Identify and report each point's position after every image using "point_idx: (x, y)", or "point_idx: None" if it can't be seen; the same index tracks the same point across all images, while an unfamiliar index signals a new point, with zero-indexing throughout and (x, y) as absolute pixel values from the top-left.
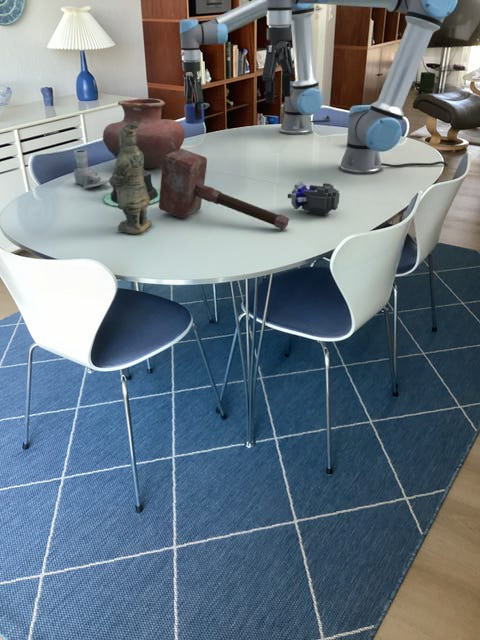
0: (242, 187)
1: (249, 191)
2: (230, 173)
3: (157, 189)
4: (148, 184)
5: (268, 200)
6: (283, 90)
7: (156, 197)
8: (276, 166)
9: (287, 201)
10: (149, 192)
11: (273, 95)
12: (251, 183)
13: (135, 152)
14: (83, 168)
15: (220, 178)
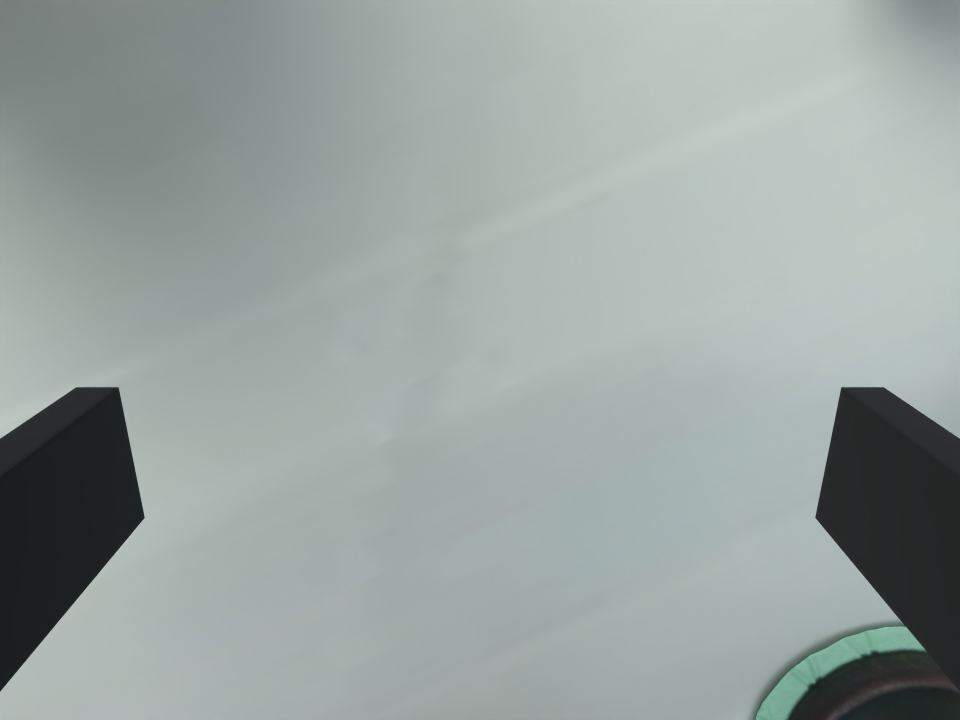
0: (584, 385)
1: (639, 321)
2: (372, 543)
3: (774, 697)
4: (948, 718)
5: (765, 153)
6: (84, 553)
7: (878, 651)
8: (116, 380)
9: (754, 33)
10: (928, 685)
11: (958, 449)
12: (497, 372)
13: None
14: None
15: (477, 548)
